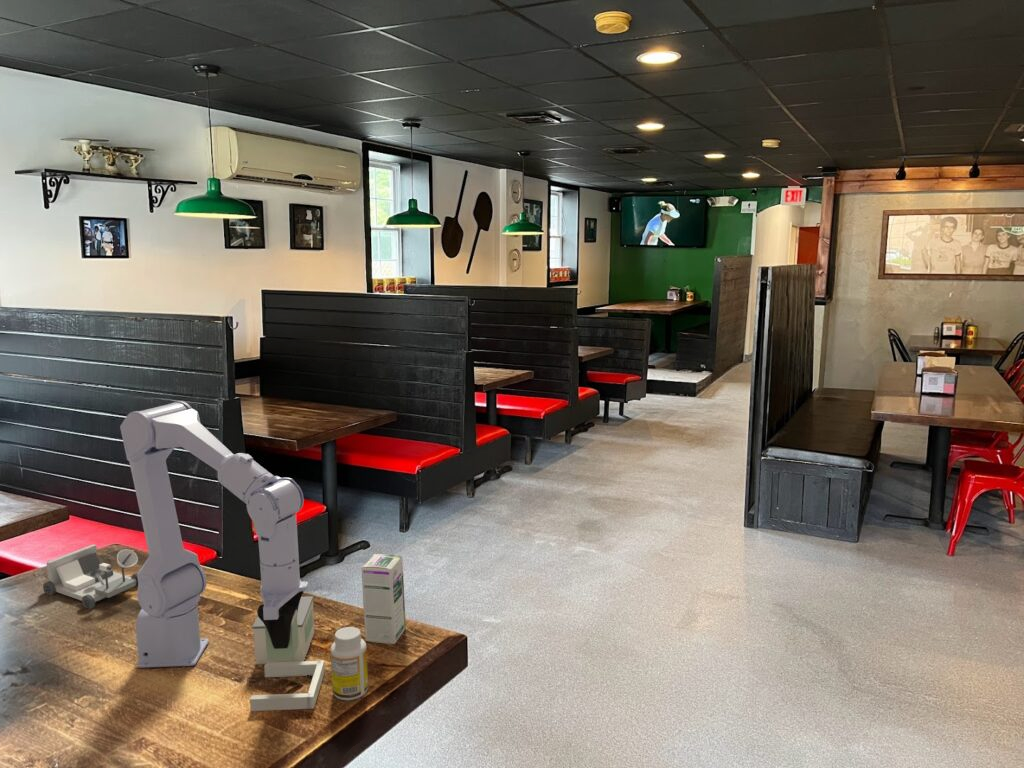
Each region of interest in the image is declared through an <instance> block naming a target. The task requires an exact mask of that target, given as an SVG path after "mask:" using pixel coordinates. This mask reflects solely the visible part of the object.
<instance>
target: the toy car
mask: <svg viewBox="0 0 1024 768" xmlns="http://www.w3.org/2000/svg"><path fill="white" fill-rule="evenodd" d="M97 549H98V547H97V544H89V545H88V546H85V547H83V548H80V549H78V550H75V551H72V552H68V553H67V554H64V555H62V556H58V557H56V558H53V559H51V560H49V561H47V562H46V568H47V577H48V580H47V581H46V582H44V583H43V585H42V588H43V589H42V590H43V592H44V594H45V595H49V596H53V595H56V593H58V594H62V595H64V596H66V597H70V598H73V599H76V600H78V601H81V603H82V606H83V608H86V609H88V610H92V609H94V608H95V607H96V602H99V601H101V600H103V599H106V598H108V599H109V598H112V597H113V596H116V595H118V594H120V593H122V592H124V591H127V590H129V589H131V588H133V587H135V586H136V587H138V578H137V573H138V572H136V573H132V575H131V576H130V575H129V576H128V575H125V568H126V569H127V568H131V567H135V565H137V563H138V555H137V553H136V552H135V551H134V550H131V549H129V548H128V549H127V548H126V549H125V548H124V549H121V550H120V551H118V553H117V554H116V561H117V562H116V563H117V564H118V566H119V567H121V573H119V572H115V571H114V569H113V567H111V564H109V563H105V562H102V561H100V558H99V557H98V550H97Z"/></svg>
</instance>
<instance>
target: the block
mask: <svg viewBox="0 0 1024 768" xmlns="http://www.w3.org/2000/svg"><path fill="white" fill-rule="evenodd" d="M264 626H265V625H264ZM265 635H266V649H267V660H268V659H293V658H294V656H295V653H296V651H297V648H298V645H299V641H298V624H297V610H296V611H295V613H294V615H293V619H292V623H291V631H290V641H289V645H288V648H283V649H274V647H273V645H272V642H271V639H270V636H269V633H268V630H267V628H266V626H265Z"/></svg>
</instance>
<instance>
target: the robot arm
mask: <svg viewBox="0 0 1024 768" xmlns="http://www.w3.org/2000/svg"><path fill="white" fill-rule="evenodd" d="M119 428H120V433H121V437H122V442H123V447H124V451H125V456H126V460H127V461H128V462H129V466H130V472H131V477H132V481H133V486H134V490H135V494H136V495H135V496H136V499H137V505H138V509H139V513H140V514H139V515H140V518H141V522H142V529H143V533H144V536H145V537H144V538H145V542H146V546H147V551H148V557H147V559H146V560H145V562H144V563H143V565H142V566H141V567H140V569H139V570H138V572H136V573H137V578H138V586H137V590H136V591H137V593H136V594H137V600H138V601H137V602H138V604H139V606H140V607H141V609H140V611H139V612H138V615H137V617H136V621H135V639H136V647H137V656H138V657H137V658H138V663H136V664H137V666H136V667H137V668H140V669H141V668H163V667H164V668H169V667H170V668H171V667H191V666H196V664H197V662H198V661H199V659H200V657H201V656H202V654H203V652H204V651H205V649H206V647H207V646H208V644H209V642H210V639H208V638H201V633H200V632H201V631H200V621H199V620H200V619H199V618H200V617H199V609H198V603H199V602H201V594H203V593H204V592H205V590H206V588H207V577H206V573H205V571H204V569H203V568H202V566H201V564H200V561H199V557H198V554H197V553H195V552H193V551H191V550H188V549H185V548H184V545H183V544H184V543H183V539H182V534H181V528H180V524H179V518H178V514H177V510H176V505H175V500H174V494H173V489H172V486H171V481H170V476H169V471H168V465H167V459H168V457H169V456H170V455H171V453H172V452H173V451H174V449H175V448H182V449H184V450H185V451H186V452H189V453H190V454H192V455H193V456H195V457H196V458H198V459H199V460H201V461H202V462H204V463H205V464H206V465H208V466H209V467H211V468H213V469H214V470H215V471H217V480H218V483H219V484H221V485H222V486H223V487H224V488H225V489H226V490H228V491H229V492H230V493H231V494H233V495H234V496H235V497H237V498H238V499H239V500H240V501H242V502H243V503H244V504H246V511H247V513H248V515H249V518H250V519H251V520H252V523H253V526H254V527H253V528H254V532H255V534H256V536H257V541H258V551H259V555H258V556H259V567H260V568H259V569H260V583H261V585H260V596H261V599H262V603H263V604H260V605H259V607H258V608H257V610H256V612H257V616H258V617H259V618H260V619H261V620H262V622H263V623H264V625H265V626H266V628H267V630H268V633H269V636H270V639H271V642H272V645H273V647H274V649H283V648H288V645H289V641H290V631H291V623H292V619H293V615H294V613H295V611H296V610H297V613H298V607H299V603H300V599H301V597H303V594H304V592H305V591H307V590H308V588H309V582H308V581H302V580H301V577H300V559H299V558H300V557H299V542H298V539H299V538H298V525H297V524H298V523H297V513H298V512H301V509H302V508H303V506H304V501H305V498H304V494H303V493H304V492H303V490H302V488H301V487H300V485H299V484H297V482H296V481H295V480H294V479H293V478H290V477H287V476H286V477H280V476H278V475H274V474H272V473H271V472H270V471H268V470H267V469H266V468H264V467H263V466H261V465H260V464H259V463H258V462H256V460H254V457H252V455H250V454H249V453H244V452H238V453H235V454H234V453H233V452H232V451H231V450H229V448H227V446H226V445H224V444H223V443H222V442H221V441H220V440H219V438H217V437H216V436H215V435H214V434H212V432H210V431H209V430H208V428H206V427H205V426H204V425H203V424H202V423H201V419H200V415H199V412H198V411H197V410H196V409H194V408H192V406H191V405H190V404H188V403H187V402H185V401H183V400H177V401H174V402H171V403H168V404H164V405H159V406H157V407H152V408H147V409H144V410H136V411H131V412H129V413H127V415H126V417H125V419H123V421H122V423H121V424H120V425H119Z"/></svg>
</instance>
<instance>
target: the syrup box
mask: <svg viewBox="0 0 1024 768" xmlns="http://www.w3.org/2000/svg"><path fill="white" fill-rule="evenodd" d="M403 561H404V560H403V556H401V555H395V554H388V553H385V554H384V553H374V554H372V556H371V557H370V558H369V559H368V560H367V561H365V563H364V564H363V565H362V566H361V568H360V569H361V584H362V601H363V602H362V604H363V617H364V618H363V619H364V634H365V642H371V643H376V644H377V643H378V644H386V645H387V644H388V645H396V643H397V641H398V640H399V638H401V636H402V634H403V633H404V632H405V629H406V628H407V627H406V608H405V607H406V606H405V605H406V604H405V602H406V601H405V584H404V583H405V582H404V564H403Z"/></svg>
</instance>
